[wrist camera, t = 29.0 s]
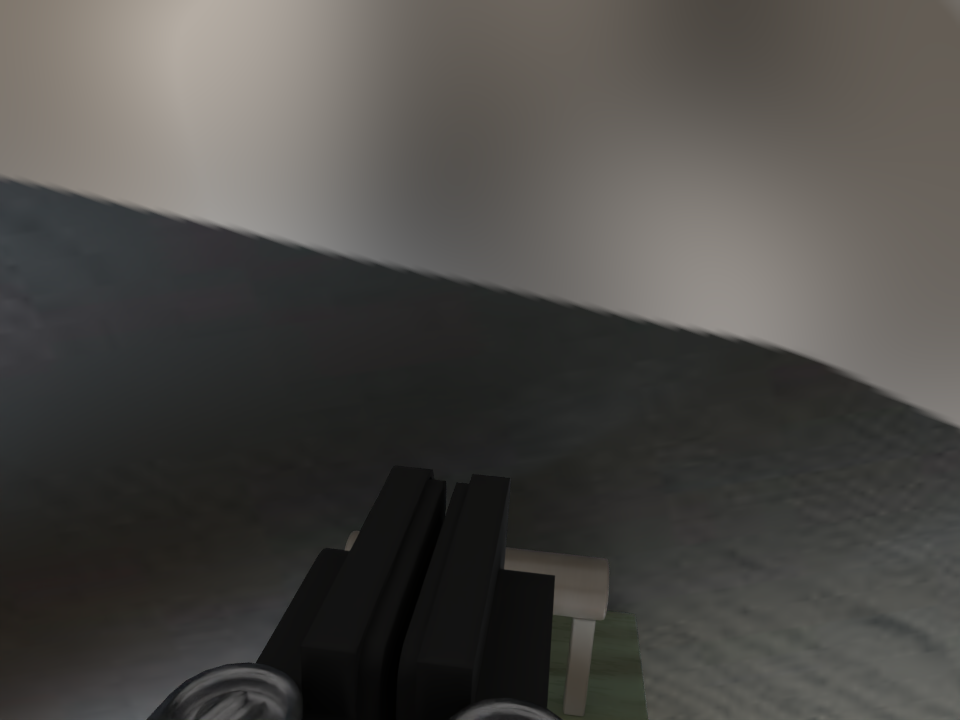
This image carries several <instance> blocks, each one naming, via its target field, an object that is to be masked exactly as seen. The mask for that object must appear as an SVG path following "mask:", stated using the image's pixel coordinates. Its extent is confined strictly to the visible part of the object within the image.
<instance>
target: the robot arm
mask: <svg viewBox="0 0 960 720" xmlns="http://www.w3.org/2000/svg"><path fill="white" fill-rule="evenodd" d="M510 482H511V480H510V478H505V477H495V476H486V475H477V474H473V475H472V477H471V480H470V484H467V483H458V482H457V483H456V486H455V489H454V492H453V495H452V498H451V501H450V504H449V507H448V510H447V513H446V516H445V511H446V481H440V480H434V475H433V470H430V469H421V468H412V467H403V466H394V467H393V468H392V470H391V472H390V474H389V476H388V478H387V480H386V482H385V484H384V486H383V488H382V490H381V492H380V493H379V495H378V497H377V499H376V501H375V503H374V505H373V507H372V509H371V511H370V513H369V515H368V517H367V519H366V521H365V523H364V524H363V526H362V528H361V530H360V532H359V534H358V536H357V538H356V540H355V542H354V544H353V546H352V548H351V550H350V551H347V550H338V549H330V548H326V549H323V550H322V551H321V552H320V554H319V555H318V557H317V558H316V560H315V562H314V564H313V565H312V567H311V569H310V570H309V572H308V574H307V576H306V577H305V579H304V581H303V582H302V584H301V586H300V588H299V589H298V591H297V593H296V595H295V596H294V598H293V600H292V601H291V603H290V605H289V607H288V608H287V610H286V612H285V614H284V615H283V617H282V619H281V620H280V622H279V624H278V626H277V627H276V629H275V631H274V632H273V634H272V636H271V638H270V639H269V641H268V643H267V645H266V646H265V648H264V650H263V651H262V653H261V655H260V657H259V658H258V660H257V662H256V663H236V664H226V665H223V666H219V667H216V668H212V669H209V670H205V671H203V672H202V673H200V674H198V675H196V676H194V677H192V678H190V679H188V680H186V681H185V682H184V683H182V684H181V685H180V686H179V687H178V688H177V689H175V690H174V691H173V692H172V693H171V694H169V695H168V697H167V698H166V699H165V700H164V701H163V702H162V703H161V704H160V705H159V706H158V707H157V709H156V710H155V711H154V712H153V713H152V714H151V715H150V716H149V717H148V718H147V719H146V720H563V719H562V718H560V717H559V716H557V715H556V714H554V713H553V712H552V711H550V710H549V709H547V703H548V687H549V670H550V653H551V637H552V620H553V604H554V587H555V575H547V574H539V573H530V572H522V571H514V570H505V569H504V565H505V551H506V538H507V525H508V512H509V499H510Z"/></svg>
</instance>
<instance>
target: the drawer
mask: <svg viewBox="0 0 960 720" xmlns="http://www.w3.org/2000/svg"><path fill="white" fill-rule="evenodd" d="M359 532H360V531H353V532H352V533H351V534H350V536H349V538H348V540H347V542H346V546H345V549H344V550H347V551H350V550H351V548H352V546H353V544H354V542H355V540H356V538H357V536H358V534H359ZM504 569H505V570H514V571H522V572H530V573H539V574H547V575H555V587H554V604H553V620H552V637H551V653H550V670H549V687H548V703H547V709H549V710H550V711H552V712H553V713H554V714H556V715H557V716H559V717H560V718H562V719H563V720H648V712H647V704H646V696H645V688H644V680H643V672H642V664H641V655H640V647H639V639H638V631H637V623H636V616H635V614H630V613H621V612H613V611H607V606H608V596H609V578H610V571H609V562H608V560H607V559H606V558H600V557H590V556H581V555H572V554H563V553H554V552H545V551H536V550H527V549H518V548H509V547H506V551H505V565H504Z"/></svg>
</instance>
